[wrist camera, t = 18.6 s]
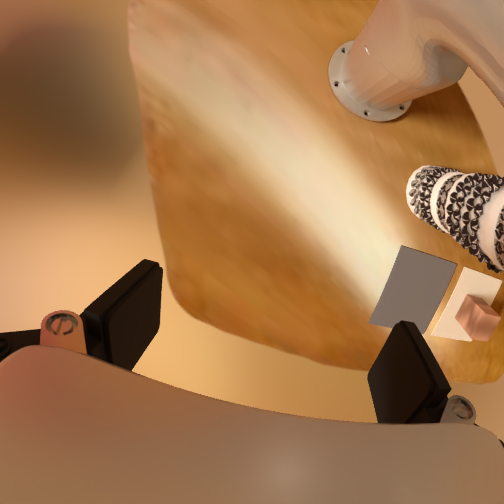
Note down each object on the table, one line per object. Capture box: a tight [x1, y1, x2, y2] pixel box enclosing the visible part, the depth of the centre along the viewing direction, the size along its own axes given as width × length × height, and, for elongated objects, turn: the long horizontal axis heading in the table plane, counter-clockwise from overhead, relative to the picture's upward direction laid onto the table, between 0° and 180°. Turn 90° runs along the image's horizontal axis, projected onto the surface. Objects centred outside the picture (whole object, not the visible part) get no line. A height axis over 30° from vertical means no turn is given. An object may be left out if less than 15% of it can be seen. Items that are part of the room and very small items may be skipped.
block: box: [455, 294, 501, 341], centre depth 37 cm, size 5×5×7 cm
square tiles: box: [369, 245, 502, 342], centre depth 40 cm, size 14×26×1 cm, turn 77°
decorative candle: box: [406, 165, 504, 273], centre depth 24 cm, size 9×9×25 cm
